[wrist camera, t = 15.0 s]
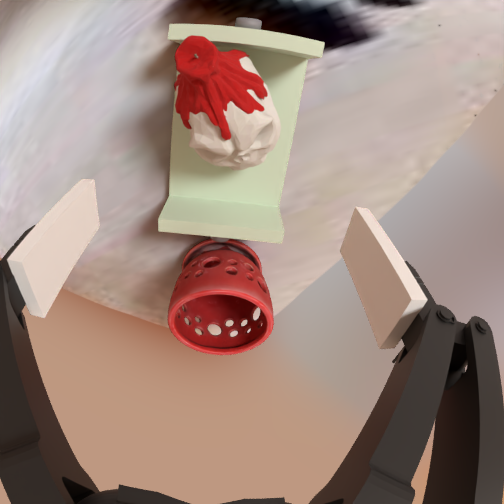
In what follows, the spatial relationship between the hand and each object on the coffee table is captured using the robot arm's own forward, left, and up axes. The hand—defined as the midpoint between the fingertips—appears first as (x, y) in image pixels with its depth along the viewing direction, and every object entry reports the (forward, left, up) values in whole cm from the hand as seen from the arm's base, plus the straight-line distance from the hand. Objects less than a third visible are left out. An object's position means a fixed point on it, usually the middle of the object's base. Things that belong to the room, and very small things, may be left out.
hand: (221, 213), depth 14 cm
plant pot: (+21, +1, -23) cm, 31 cm away
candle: (0, +1, -22) cm, 22 cm away
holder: (0, 0, -23) cm, 23 cm away
